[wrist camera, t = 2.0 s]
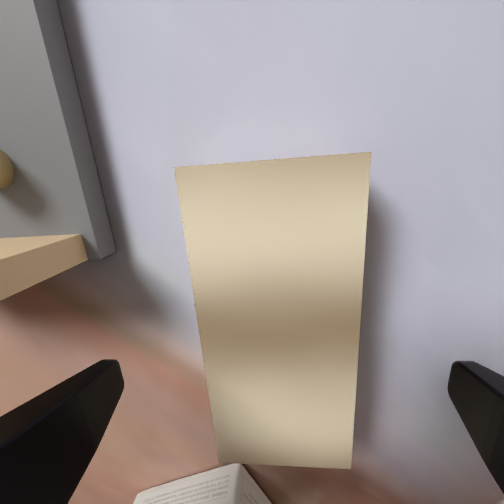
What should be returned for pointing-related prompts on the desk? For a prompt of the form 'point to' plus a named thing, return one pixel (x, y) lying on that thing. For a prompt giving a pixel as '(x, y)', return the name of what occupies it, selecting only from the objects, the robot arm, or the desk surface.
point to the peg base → (44, 154)
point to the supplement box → (208, 489)
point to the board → (279, 302)
